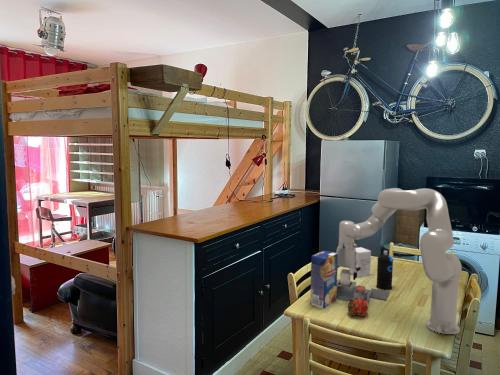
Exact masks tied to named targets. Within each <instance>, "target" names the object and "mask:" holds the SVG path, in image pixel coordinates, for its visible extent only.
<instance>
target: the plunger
mask: <svg viewBox="0 0 500 375" xmlns="http://www.w3.org/2000/svg"><path fill="white" fill-rule="evenodd" d="M366 289H367V287H366V286H364V285H356V290H357V292H360V293H364V291H365V290H366Z"/></svg>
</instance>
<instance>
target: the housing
mask: <svg viewBox="0 0 500 375" xmlns="http://www.w3.org/2000/svg"><path fill="white" fill-rule="evenodd" d="M356 286H357V282H356V281H351V280H350V287H348V286H343V285H340V279H339V278H337V294H336V300H340V301H346V302H349V300H350V299H354V298H363V299H364V300H366V301H367V303H368V304H369V302H370V300H371V299H372V298H371V295H372V293H373V290H371V289H367V288H366V290H365V291H364V293H360V292H357V290H356Z"/></svg>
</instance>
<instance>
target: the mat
mask: <svg viewBox="0 0 500 375" xmlns="http://www.w3.org/2000/svg"><path fill="white" fill-rule="evenodd" d="M370 290H373V293H372V295H371V298H370V299H373V300H379V301H380V300H381V301H384V302H386V301H388V298H389V294H390V292H391V290H381V289H379V288H371V289H370Z"/></svg>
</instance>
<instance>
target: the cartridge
mask: <svg viewBox="0 0 500 375" xmlns="http://www.w3.org/2000/svg"><path fill="white" fill-rule="evenodd" d="M339 273H340V275H339V276H340V277H339V278H340V285H343V286H348V287H350V281H351V275H352V274H351V273H350V271H349V269H346V268H345V269H344V268H343V269H341V271H340V272H339Z"/></svg>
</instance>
